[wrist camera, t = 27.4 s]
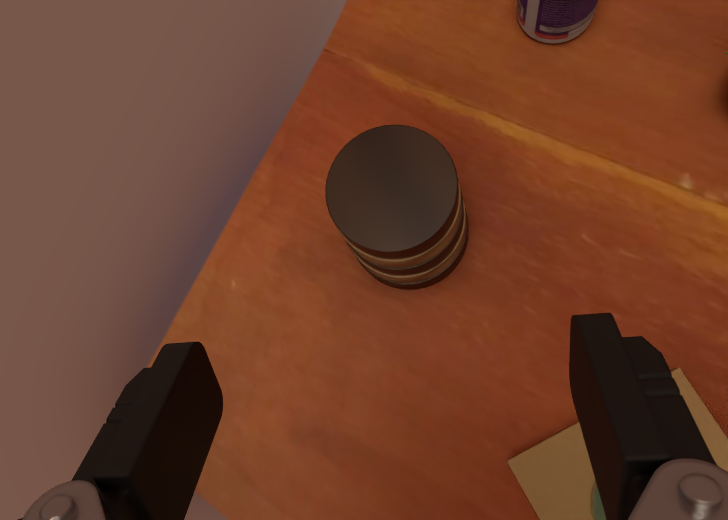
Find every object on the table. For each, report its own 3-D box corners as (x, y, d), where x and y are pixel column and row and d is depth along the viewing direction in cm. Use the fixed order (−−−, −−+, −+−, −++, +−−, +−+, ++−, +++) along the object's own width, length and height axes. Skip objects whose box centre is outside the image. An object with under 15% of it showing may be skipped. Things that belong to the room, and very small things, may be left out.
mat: (616, 655, 34) (618, 658, 34) (506, 460, 38) (506, 461, 37) (806, 557, 34) (810, 559, 33) (677, 367, 37) (679, 367, 37)
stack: (387, 310, 41) (360, 287, 31) (334, 214, 43) (293, 164, 34) (490, 252, 41) (494, 210, 31) (431, 158, 43) (418, 91, 33)
